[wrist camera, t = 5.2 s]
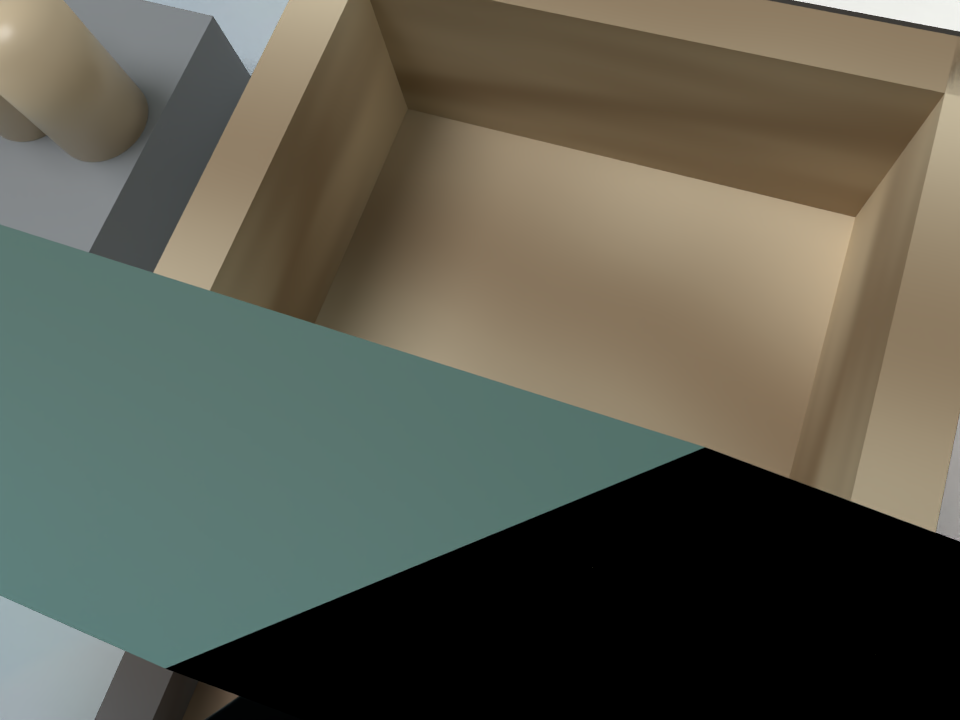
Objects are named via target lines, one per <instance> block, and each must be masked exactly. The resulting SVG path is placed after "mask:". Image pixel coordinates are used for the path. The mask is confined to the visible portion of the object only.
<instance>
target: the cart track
mask: <svg viewBox="0 0 960 720" xmlns="http://www.w3.org/2000/svg"><path fill="white" fill-rule="evenodd" d="M769 1H774V2H779V3H784V4H790V5H795V6H800V7H805V8H811V9H816V10H821V11H827V12H832V13H837V14H842V15H848V16H853V17H858V18H864V19H869V20H874V21H879V22H885V23H890V24H895V25H901V26H906V27H911V28H916V29H922V30H927V31H932V32H938V33H943V34H948V35H953V36H959V37H960V32H959V31H953V30H948V29H943V28H937V27H932V26H927V25H921V24H916V23H911V22H906V21H900V20H895V19H890V18H884V17H879V16H874V15H868V14H863V13H858V12H852V11H847V10H842V9H836V8H831V7H826V6H820V5H815V4H810V3H804V2H799V1H794V0H769ZM237 697H238V695H235V694H232V693H230V692H227V691H224V690H222V689H219V688H216V687H214V686H211V685H208V684H206V683H203V682H200V681H197V680H195V679H192V678H189V677H187V676H184V675H181V674H179V673H176V672H173V671H170V670H168V669H165V668H163V667H161V666H158V665H156V664H154V663H152V662H149V661H147V660H145V659H143V658H140V657H138V656H136V655H133V654H131V653H129V652H127V651H125V653H124V655H123V657H122V660H121V662H120V664H119V666H118V669H117V671H116V673H115V675H114V678H113V680H112V682H111V684H110V686H109V689H108V691H107V693H106V695H105V698H104V700H103V702H102V704H101V707H100V709H99V711H98V713H97V715H96V718H95V720H204V719H206V718H207V717H209V716H210V715H212V714H213V713H215V712H216V711H218V710H219V709H221V708H222V707H224V706H225V705H227V704H228V703H230V702H231V701H232V700H234V699H235V698H237Z"/></svg>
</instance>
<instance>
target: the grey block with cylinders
mask: <svg viewBox="0 0 960 720" xmlns="http://www.w3.org/2000/svg"><path fill="white" fill-rule="evenodd" d="M250 78H251V76H250V75H249V73H248V71H247V70H246V68H245V67H244V65H243V63H242V62H241V60H240V59H239V57H238V55H237V54H236V52H235V51H234V49H233V47H232V46H231V44H230V43H229V41H228V39H227V38H226V36H225V35H224V33H223V31H222V30H221V28H220V27H219V25H218V23H217V22H216V20H215V19H214V17H213V16H210V15H205V14H201V13H197V12H192V11H188V10H184V9H179V8H175V7H170V6H166V5H162V4H157V3H153V2H148V1H144V0H0V224H1V225H4V226H7V227H10V228H13V229H16V230H20V231H23V232H26V233H29V234H32V235H35V236H39V237H42V238H45V239H48V240H51V241H54V242H58V243H61V244H64V245H67V246H70V247H73V248H76V249H80V250H83V251H86V252H89V253H92V254H95V255H99V256H102V257H105V258H108V259H111V260H114V261H118V262H121V263H124V264H127V265H130V266H133V267H137V268H140V269H143V270H146V271H149V272H152V273H153V272H154V270H155V268H156V266H157V264H158V262H159V260H160V258H161V256H162V254H163V252H164V250H165V248H166V246H167V244H168V242H169V240H170V238H171V236H172V234H173V232H174V230H175V228H176V226H177V224H178V222H179V220H180V218H181V216H182V214H183V212H184V210H185V208H186V206H187V204H188V202H189V200H190V198H191V196H192V194H193V192H194V190H195V188H196V186H197V184H198V182H199V180H200V178H201V176H202V174H203V172H204V170H205V168H206V166H207V164H208V162H209V160H210V158H211V156H212V154H213V152H214V150H215V148H216V146H217V144H218V142H219V140H220V138H221V136H222V134H223V132H224V130H225V128H226V126H227V124H228V122H229V120H230V118H231V116H232V114H233V112H234V110H235V108H236V106H237V104H238V102H239V100H240V98H241V96H242V94H243V92H244V90H245V88H246V86H247V84H248V82H249V80H250Z"/></svg>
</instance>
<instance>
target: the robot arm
mask: <svg viewBox="0 0 960 720" xmlns="http://www.w3.org/2000/svg"><path fill="white" fill-rule="evenodd" d="M404 589H405V588H404ZM407 590H408V589H407ZM409 591H411V590H409ZM412 592H413V591H412ZM415 593H416V592H415ZM417 594H419V593H417ZM420 595H421V594H420ZM422 596H424V595H422ZM425 597H426V596H425ZM428 598H429V597H428ZM441 603H442V602H441ZM443 604H444V603H443ZM446 605H447V604H446ZM448 606H450V605H448ZM451 607H452V606H451ZM453 608H455V607H453ZM456 609H457V608H456ZM459 610H460V609H459ZM461 611H463V610H461ZM464 612H465V611H464ZM204 720H302V719H300V718H297V717H294V716H292V715H289V714H286V713H284V712H281V711H278V710H276V709H273V708H270V707H267V706H265V705H262V704H259V703H257V702H254V701H251V700H249V699H246V698H243V697H241V696H238V697H237V698H235V699H234V700H232V701H231V702H230V703H228V704H227V705H225V706H224V707H222V708H221V709H219V710H218V711H216V712H215V713H213V714H212V715H210V716H209V717H207V718H206V719H204Z"/></svg>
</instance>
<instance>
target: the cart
mask: <svg viewBox="0 0 960 720" xmlns="http://www.w3.org/2000/svg"><path fill="white" fill-rule="evenodd" d="M959 414H960V37H959V36H953V35H948V34H943V33H938V32H932V31H927V30H922V29H916V28H911V27H906V26H901V25H895V24H890V23H885V22H879V21H874V20H869V19H864V18H858V17H853V16H848V15H842V14H837V13H832V12H827V11H821V10H816V9H811V8H805V7H800V6H795V5H790V4H784V3H779V2H774V1H769V0H289V2H288V4H287V6H286V8H285V10H284V12H283V14H282V16H281V18H280V20H279V22H278V24H277V26H276V28H275V30H274V32H273V34H272V36H271V38H270V40H269V42H268V44H267V46H266V48H265V50H264V52H263V54H262V56H261V58H260V60H259V62H258V64H257V66H256V68H255V70H254V72H253V74H252V76H251V78H250V80H249V82H248V84H247V86H246V88H245V90H244V92H243V94H242V96H241V98H240V100H239V102H238V104H237V106H236V108H235V110H234V112H233V114H232V116H231V118H230V120H229V122H228V124H227V126H226V128H225V130H224V132H223V134H222V136H221V138H220V140H219V142H218V144H217V146H216V148H215V150H214V152H213V154H212V156H211V158H210V160H209V162H208V164H207V166H206V168H205V170H204V172H203V174H202V176H201V178H200V180H199V182H198V184H197V186H196V188H195V190H194V192H193V194H192V196H191V198H190V200H189V202H188V204H187V206H186V208H185V210H184V212H183V214H182V216H181V218H180V220H179V222H178V224H177V226H176V228H175V230H174V232H173V234H172V236H171V238H170V240H169V242H168V244H167V246H166V248H165V250H164V252H163V254H162V256H161V258H160V260H159V262H158V264H157V266H156V268H155V270H154V272H153V273H152V272H149V271H146V270H143V269H140V268H137V267H133V266H130V265H127V264H124V263H121V262H118V261H114V260H111V259H108V258H105V257H102V256H99V255H95V254H92V253H89V252H86V251H83V250H80V249H76V248H73V247H70V246H67V245H64V244H61V243H58V242H54V241H51V240H48V239H45V238H42V237H39V236H35V235H32V234H29V233H26V232H23V231H20V230H16V229H13V228H10V227H7V226H4V225H1V224H0V596H3V597H5V598H7V599H9V600H12V601H14V602H16V603H18V604H21V605H23V606H25V607H27V608H30V609H32V610H34V611H36V612H39V613H41V614H43V615H45V616H48V617H50V618H52V619H54V620H57V621H59V622H61V623H64V624H66V625H68V626H70V627H73V628H75V629H77V630H79V631H82V632H84V633H86V634H88V635H91V636H93V637H95V638H97V639H100V640H102V641H104V642H106V643H109V644H111V645H113V646H115V647H118V648H120V649H122V650H124V651H127V652H129V653H131V654H133V655H136V656H138V657H140V658H143V659H145V660H147V661H149V662H152V663H154V664H156V665H158V666H161V667H163V668H165V669H168V670H170V671H173V672H176V673H179V674H181V675H184V676H187V677H189V678H192V679H195V680H197V681H200V682H203V683H206V684H208V685H211V686H214V687H216V688H219V689H222V690H224V691H227V692H230V693H232V694H235V695H238V696H241V697H243V698H246V699H249V700H251V701H254V702H257V703H259V704H262V705H265V706H267V707H270V708H273V709H276V710H278V711H281V712H284V713H286V714H289V715H292V716H294V717H297V718H300V719H302V720H960V542H959V541H957V540H954V539H951V538H949V537H946V536H943V535H941V534H938V533H936V528H937V523H938V518H939V513H940V508H941V503H942V498H943V493H944V488H945V483H946V478H947V473H948V468H949V463H950V458H951V453H952V448H953V443H954V439H955V434H956V429H957V424H958V419H959ZM404 588H405V589H404ZM407 589H408V590H407ZM409 590H411V591H409ZM412 591H413V592H412ZM415 592H416V593H415ZM417 593H419V594H417ZM420 594H421V595H420ZM422 595H424V596H422ZM425 596H426V597H425ZM428 597H429V598H428ZM441 602H442V603H441ZM443 603H444V604H443ZM446 604H447V605H446ZM448 605H450V606H448ZM451 606H452V607H451ZM453 607H455V608H453ZM456 608H457V609H456ZM459 609H460V610H459ZM461 610H463V611H461ZM464 611H465V612H464Z"/></svg>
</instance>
